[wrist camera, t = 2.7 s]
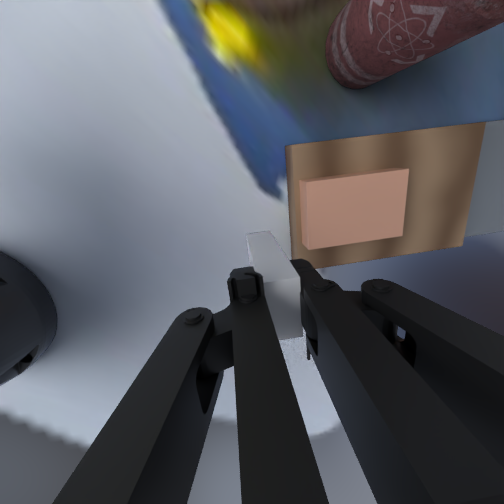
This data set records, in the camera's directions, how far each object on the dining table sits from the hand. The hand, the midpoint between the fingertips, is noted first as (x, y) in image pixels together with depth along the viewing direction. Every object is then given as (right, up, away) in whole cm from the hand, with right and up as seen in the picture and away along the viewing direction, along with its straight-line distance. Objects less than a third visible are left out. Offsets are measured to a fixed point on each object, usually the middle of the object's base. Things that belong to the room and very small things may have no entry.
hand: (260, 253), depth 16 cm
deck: (+12, +6, +11) cm, 17 cm away
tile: (+8, +4, +8) cm, 13 cm away
